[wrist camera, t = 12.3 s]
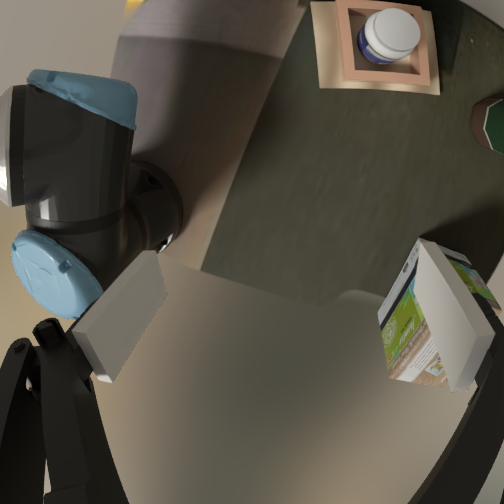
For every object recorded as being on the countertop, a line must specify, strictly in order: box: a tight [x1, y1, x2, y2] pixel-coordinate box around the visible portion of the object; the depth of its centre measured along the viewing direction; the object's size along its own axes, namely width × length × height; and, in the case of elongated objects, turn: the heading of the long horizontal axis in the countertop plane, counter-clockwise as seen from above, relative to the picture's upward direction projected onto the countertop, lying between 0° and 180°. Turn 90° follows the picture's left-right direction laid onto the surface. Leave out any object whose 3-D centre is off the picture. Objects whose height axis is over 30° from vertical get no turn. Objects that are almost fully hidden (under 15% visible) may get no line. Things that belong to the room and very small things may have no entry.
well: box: [334, 0, 430, 87], centre depth 28 cm, size 10×10×4 cm
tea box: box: [378, 237, 501, 387], centre depth 38 cm, size 15×10×15 cm, turn 166°
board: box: [310, 2, 440, 95], centre depth 30 cm, size 16×12×1 cm
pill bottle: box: [356, 8, 420, 65], centre depth 25 cm, size 6×6×10 cm
